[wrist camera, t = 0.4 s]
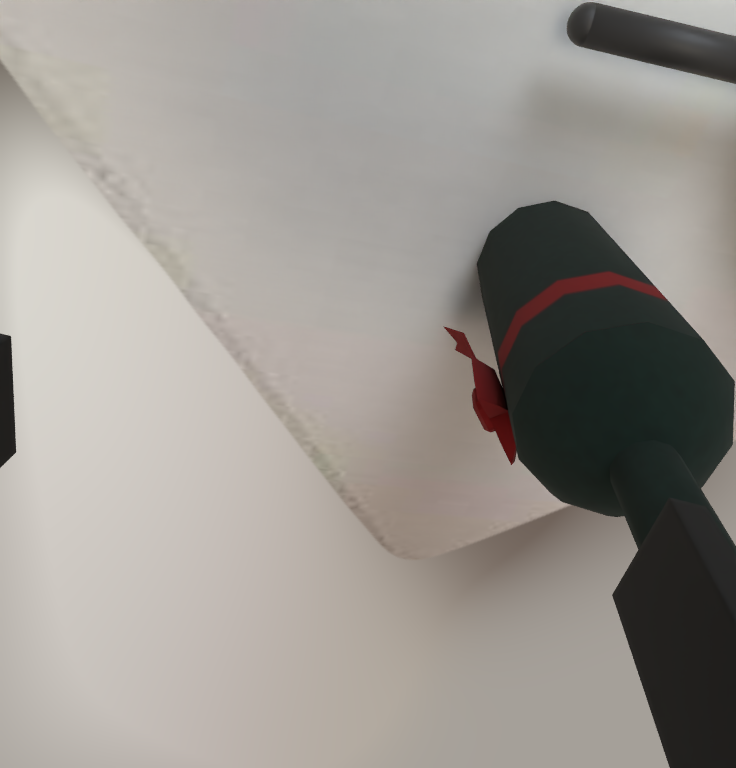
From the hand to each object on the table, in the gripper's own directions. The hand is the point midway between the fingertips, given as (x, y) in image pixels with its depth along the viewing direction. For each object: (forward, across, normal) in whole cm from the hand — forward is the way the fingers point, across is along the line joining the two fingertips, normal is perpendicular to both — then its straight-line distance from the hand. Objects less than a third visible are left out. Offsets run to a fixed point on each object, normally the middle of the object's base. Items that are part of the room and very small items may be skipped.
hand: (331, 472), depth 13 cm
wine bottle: (+28, +9, -3) cm, 29 cm away
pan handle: (+25, +12, +10) cm, 29 cm away
